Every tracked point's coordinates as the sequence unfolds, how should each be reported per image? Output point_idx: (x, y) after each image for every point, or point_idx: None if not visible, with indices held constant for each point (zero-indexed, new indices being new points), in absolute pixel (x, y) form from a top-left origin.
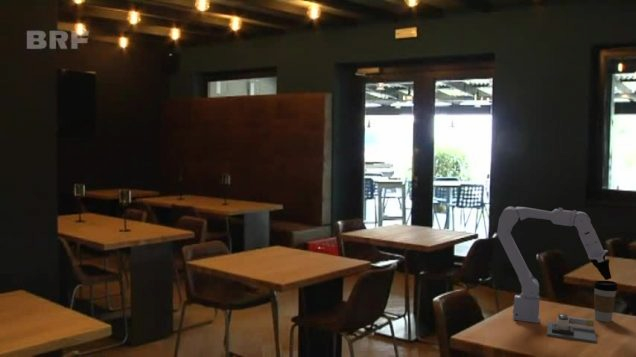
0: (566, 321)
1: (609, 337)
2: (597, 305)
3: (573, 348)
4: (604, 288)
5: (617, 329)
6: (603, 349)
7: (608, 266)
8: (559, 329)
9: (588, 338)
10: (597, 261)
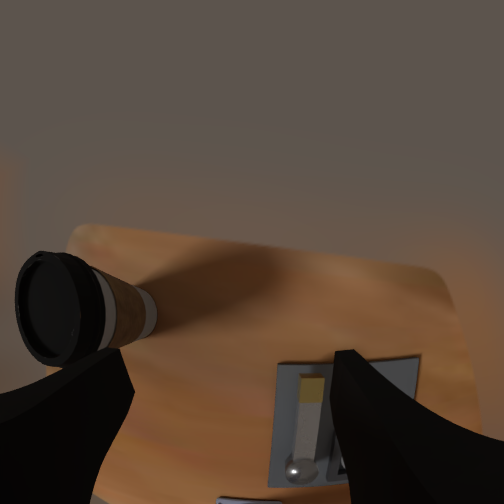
0: None
1: (345, 319)
2: (126, 343)
3: (463, 401)
4: (94, 327)
5: (234, 282)
6: (452, 336)
7: (461, 433)
8: None
9: (406, 380)
10: (54, 497)
